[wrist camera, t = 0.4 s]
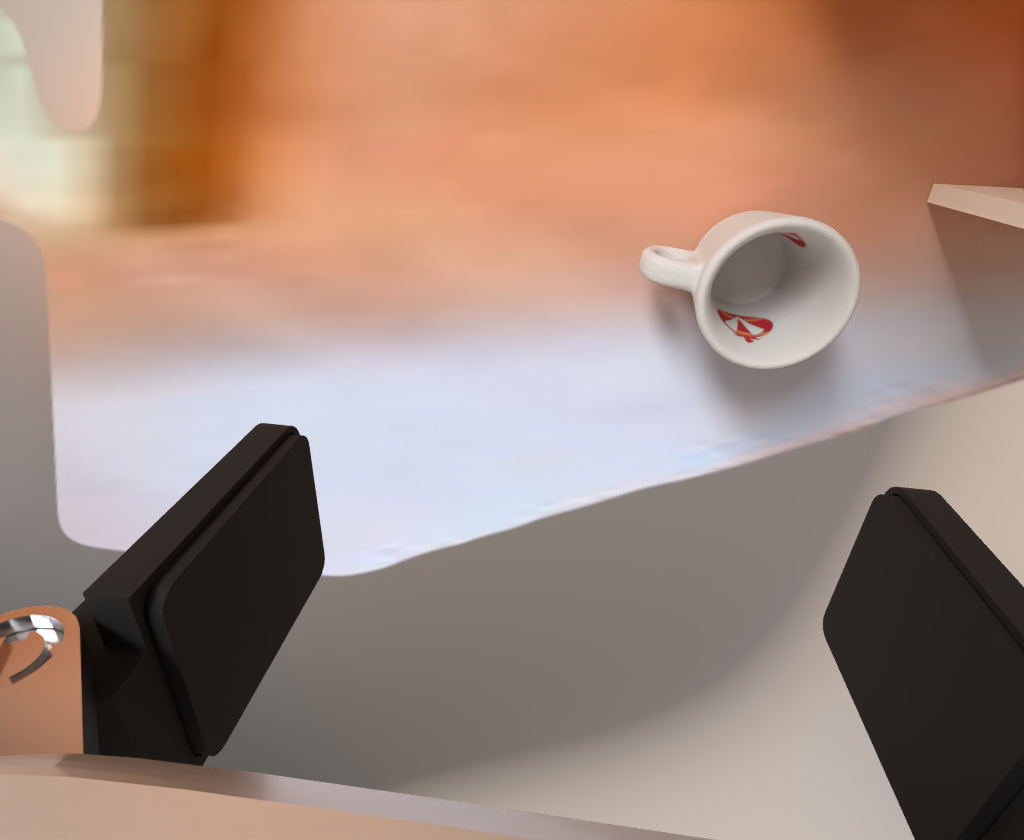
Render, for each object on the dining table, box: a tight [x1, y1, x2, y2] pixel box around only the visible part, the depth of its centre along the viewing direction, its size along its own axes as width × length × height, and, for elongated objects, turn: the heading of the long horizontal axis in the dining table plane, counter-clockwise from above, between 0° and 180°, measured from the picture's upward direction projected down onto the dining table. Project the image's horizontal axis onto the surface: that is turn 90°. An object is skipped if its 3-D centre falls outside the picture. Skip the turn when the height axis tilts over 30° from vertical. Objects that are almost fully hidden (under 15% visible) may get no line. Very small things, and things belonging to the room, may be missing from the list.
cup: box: [639, 210, 861, 370], centre depth 33 cm, size 11×8×8 cm
